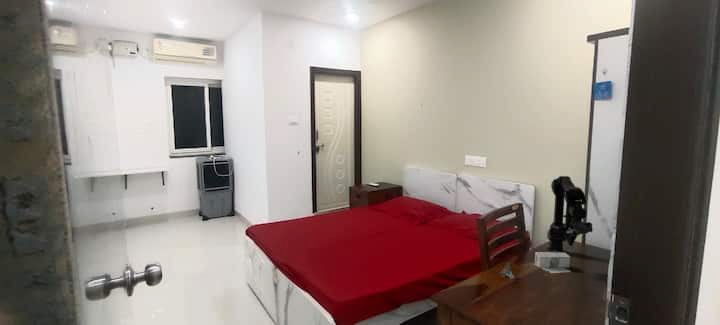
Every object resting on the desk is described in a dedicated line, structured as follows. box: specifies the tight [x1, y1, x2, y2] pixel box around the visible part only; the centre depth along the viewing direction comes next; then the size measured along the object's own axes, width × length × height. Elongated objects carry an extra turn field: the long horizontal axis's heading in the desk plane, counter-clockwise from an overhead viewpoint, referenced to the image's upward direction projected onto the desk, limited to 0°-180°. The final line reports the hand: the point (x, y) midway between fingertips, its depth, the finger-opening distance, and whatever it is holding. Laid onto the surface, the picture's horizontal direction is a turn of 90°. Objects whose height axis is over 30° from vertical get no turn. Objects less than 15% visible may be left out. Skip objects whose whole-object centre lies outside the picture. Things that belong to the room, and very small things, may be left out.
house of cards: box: [499, 262, 515, 280], centre depth 161 cm, size 9×9×8 cm
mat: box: [533, 262, 572, 274], centre depth 172 cm, size 12×11×1 cm
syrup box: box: [534, 251, 571, 269], centre depth 174 cm, size 6×6×14 cm
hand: (570, 245), depth 172 cm, fingers closed
